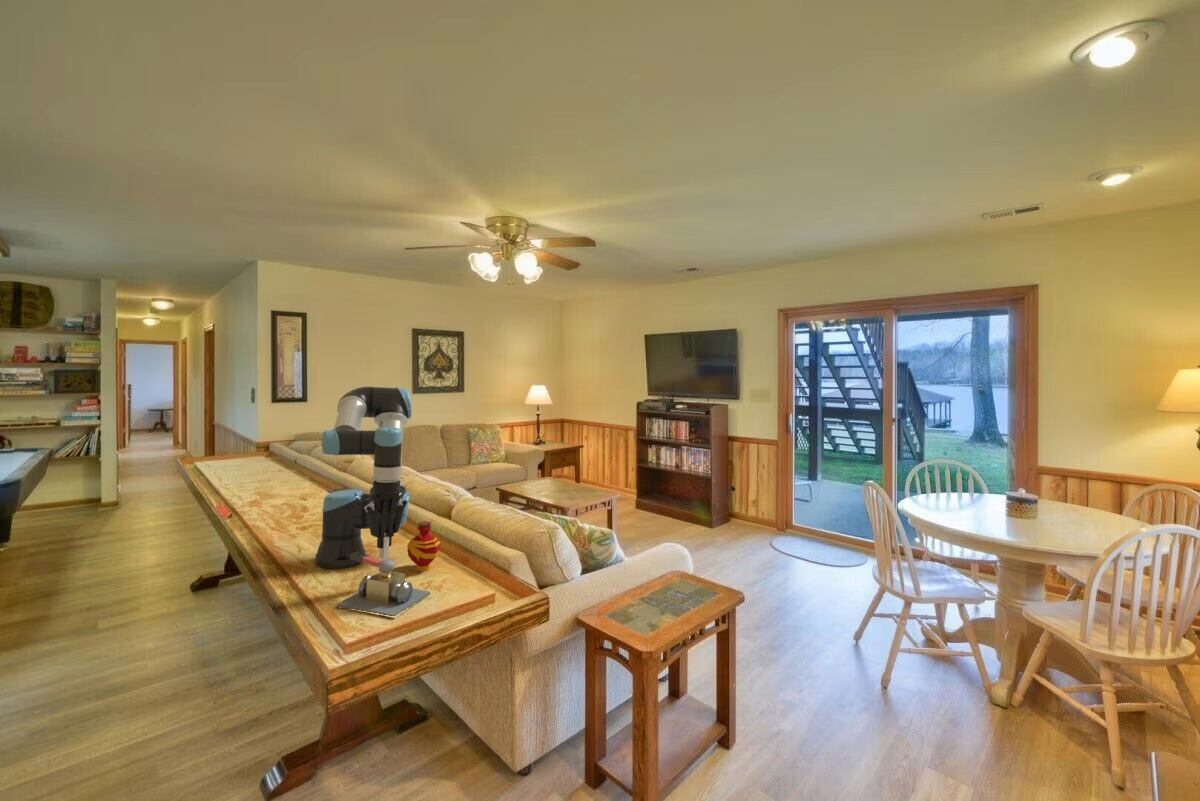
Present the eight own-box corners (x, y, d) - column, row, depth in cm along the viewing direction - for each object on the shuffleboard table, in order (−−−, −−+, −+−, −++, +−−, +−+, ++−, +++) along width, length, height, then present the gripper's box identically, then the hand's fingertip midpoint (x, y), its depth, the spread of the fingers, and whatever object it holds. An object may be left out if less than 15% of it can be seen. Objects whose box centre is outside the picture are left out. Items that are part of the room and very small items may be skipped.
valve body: (355, 601, 141) (356, 571, 141) (372, 591, 148) (373, 562, 148) (398, 609, 138) (400, 579, 137) (414, 599, 144) (416, 570, 144)
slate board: (336, 607, 137) (337, 603, 137) (377, 585, 153) (377, 582, 153) (394, 619, 133) (394, 615, 133) (430, 595, 148) (430, 591, 148)
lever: (397, 568, 143) (397, 561, 143) (385, 573, 140) (385, 565, 140) (359, 556, 151) (360, 550, 151) (347, 560, 147) (347, 553, 147)
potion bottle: (405, 563, 171) (407, 519, 170) (437, 561, 175) (439, 517, 175) (406, 575, 161) (408, 528, 161) (440, 572, 166) (442, 526, 165)
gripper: (400, 475, 159) (397, 549, 160) (358, 480, 149) (355, 559, 150) (413, 479, 155) (410, 555, 156) (372, 484, 144) (369, 566, 145)
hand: (383, 557), depth 153 cm, fingers closed
